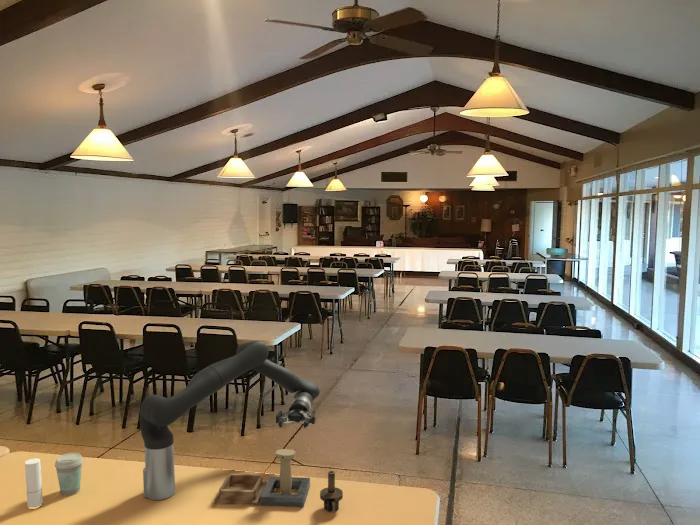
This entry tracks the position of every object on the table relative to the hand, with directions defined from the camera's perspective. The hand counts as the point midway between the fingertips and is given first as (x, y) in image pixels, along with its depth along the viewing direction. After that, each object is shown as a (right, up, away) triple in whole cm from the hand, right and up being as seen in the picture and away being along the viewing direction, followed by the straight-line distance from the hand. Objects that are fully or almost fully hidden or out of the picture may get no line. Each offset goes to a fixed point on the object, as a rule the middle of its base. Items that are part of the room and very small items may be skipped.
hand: (292, 425), depth 205 cm
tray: (-16, -20, -10) cm, 28 cm away
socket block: (-1, -20, -11) cm, 23 cm away
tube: (-81, -21, -18) cm, 86 cm away
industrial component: (+14, -21, -19) cm, 32 cm away
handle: (-1, -20, -11) cm, 23 cm away
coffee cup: (-74, -20, -9) cm, 77 cm away
